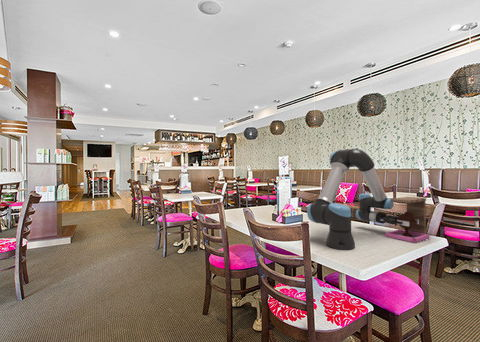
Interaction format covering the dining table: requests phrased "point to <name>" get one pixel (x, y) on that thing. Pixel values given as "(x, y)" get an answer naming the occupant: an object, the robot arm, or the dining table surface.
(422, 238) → the seat plate
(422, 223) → the display shelf
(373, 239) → the dining table surface
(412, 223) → the ice cream bowl
